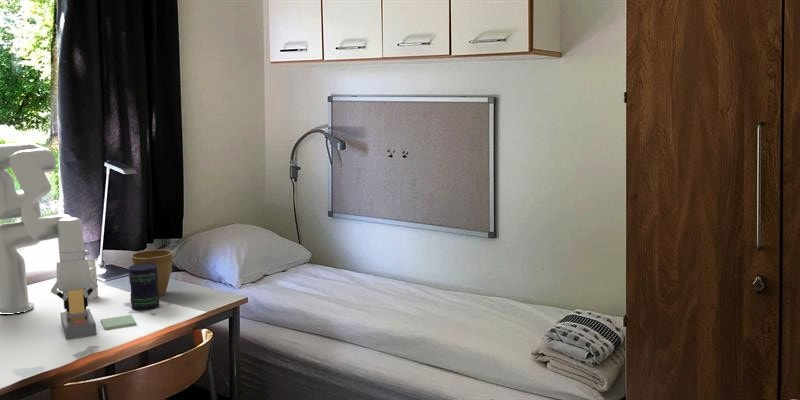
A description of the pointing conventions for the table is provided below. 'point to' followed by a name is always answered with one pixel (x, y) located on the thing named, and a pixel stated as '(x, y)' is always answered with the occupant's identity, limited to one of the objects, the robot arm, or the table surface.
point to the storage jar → (144, 286)
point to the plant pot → (163, 265)
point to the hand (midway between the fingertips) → (76, 309)
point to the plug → (76, 305)
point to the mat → (118, 322)
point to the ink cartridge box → (93, 276)
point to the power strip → (78, 326)
